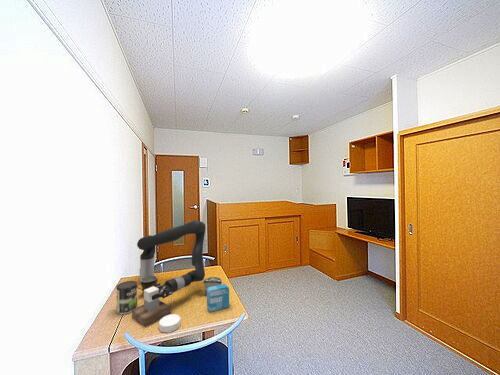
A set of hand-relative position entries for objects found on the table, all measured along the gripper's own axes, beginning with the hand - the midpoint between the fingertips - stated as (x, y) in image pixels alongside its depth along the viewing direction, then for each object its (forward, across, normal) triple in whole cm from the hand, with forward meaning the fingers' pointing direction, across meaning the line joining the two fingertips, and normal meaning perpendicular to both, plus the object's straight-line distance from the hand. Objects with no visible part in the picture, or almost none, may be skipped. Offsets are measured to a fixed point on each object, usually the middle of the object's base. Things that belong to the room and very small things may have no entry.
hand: (147, 295), depth 115 cm
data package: (-28, +24, +12) cm, 39 cm away
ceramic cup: (-12, -24, +12) cm, 29 cm away
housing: (-2, 0, +7) cm, 8 cm away
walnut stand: (-2, 0, +11) cm, 12 cm away
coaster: (-3, +16, +12) cm, 20 cm away
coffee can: (+3, -17, +12) cm, 21 cm away
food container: (-38, +10, +12) cm, 41 cm away
